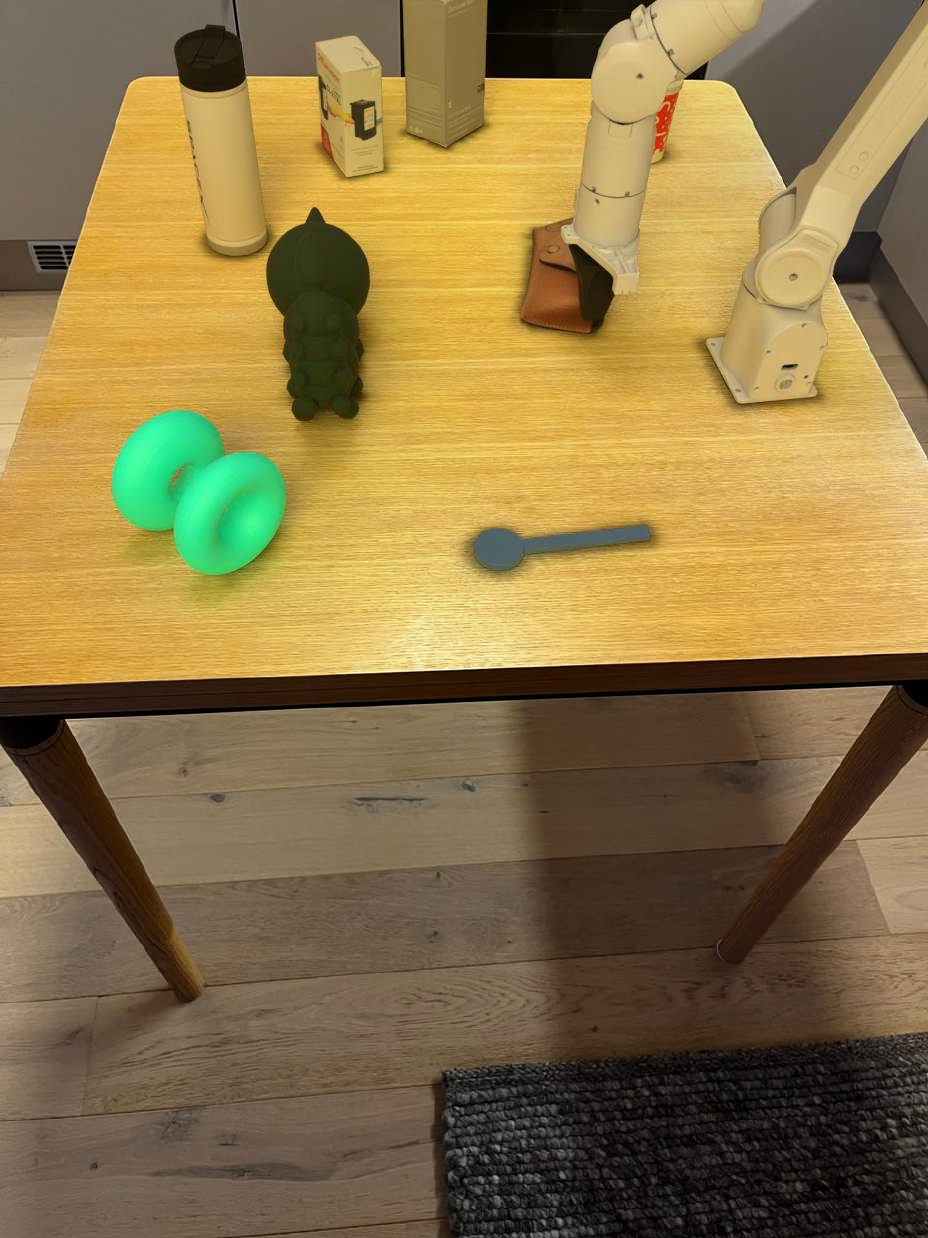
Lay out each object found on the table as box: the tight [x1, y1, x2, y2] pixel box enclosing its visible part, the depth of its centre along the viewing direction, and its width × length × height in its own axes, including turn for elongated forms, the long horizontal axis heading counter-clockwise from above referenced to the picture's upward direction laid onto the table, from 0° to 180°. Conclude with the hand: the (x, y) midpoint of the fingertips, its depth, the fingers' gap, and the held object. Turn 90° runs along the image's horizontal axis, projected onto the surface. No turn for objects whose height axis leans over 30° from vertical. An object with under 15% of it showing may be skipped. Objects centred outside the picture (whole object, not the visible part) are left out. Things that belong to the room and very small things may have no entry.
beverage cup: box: [651, 78, 685, 164], centre depth 116 cm, size 6×6×14 cm
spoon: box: [473, 524, 651, 572], centre depth 81 cm, size 4×14×1 cm, turn 100°
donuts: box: [110, 409, 287, 576], centre depth 76 cm, size 10×10×10 cm
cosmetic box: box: [402, 0, 488, 148], centre depth 118 cm, size 8×7×16 cm
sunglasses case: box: [519, 216, 605, 335], centre depth 103 cm, size 18×7×7 cm
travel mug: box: [173, 23, 268, 257], centre depth 99 cm, size 6×7×20 cm
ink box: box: [314, 35, 385, 178], centre depth 114 cm, size 9×5×12 cm, turn 25°
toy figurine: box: [265, 206, 371, 422], centre depth 87 cm, size 9×19×25 cm
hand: (592, 316), depth 96 cm, fingers closed
